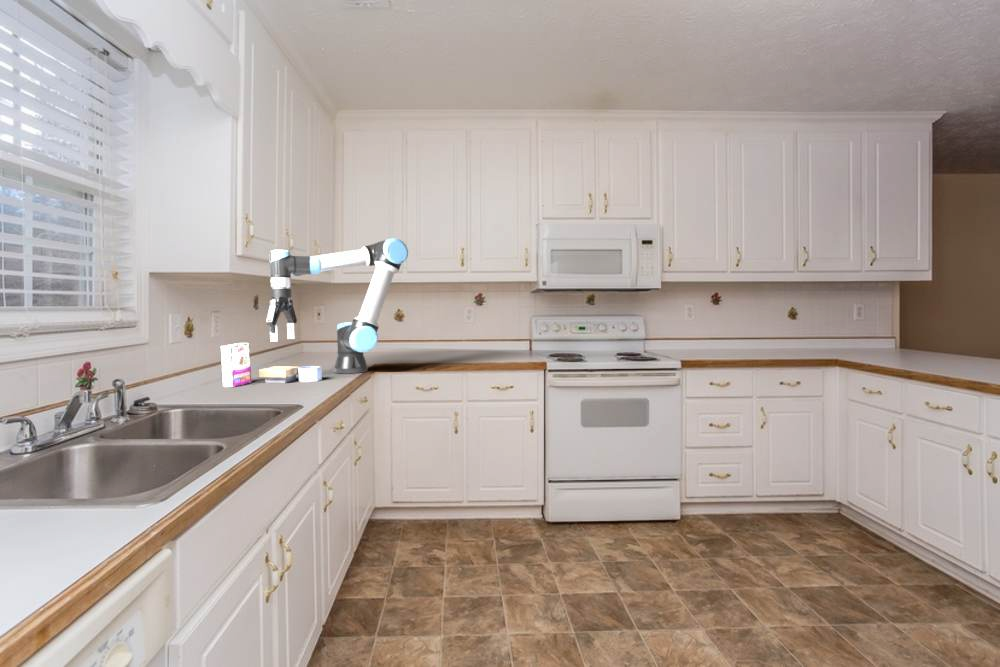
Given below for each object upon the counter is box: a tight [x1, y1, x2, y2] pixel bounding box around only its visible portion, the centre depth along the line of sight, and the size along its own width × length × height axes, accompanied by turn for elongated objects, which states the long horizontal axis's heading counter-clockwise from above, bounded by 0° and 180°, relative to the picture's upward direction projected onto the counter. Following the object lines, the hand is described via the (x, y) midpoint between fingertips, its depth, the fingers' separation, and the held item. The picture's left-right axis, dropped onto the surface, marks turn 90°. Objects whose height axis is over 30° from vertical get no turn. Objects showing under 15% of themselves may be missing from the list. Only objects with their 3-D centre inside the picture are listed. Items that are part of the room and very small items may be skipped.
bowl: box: [297, 365, 323, 383], centre depth 212 cm, size 9×9×6 cm
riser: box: [264, 375, 297, 384], centre depth 210 cm, size 8×9×2 cm
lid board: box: [258, 365, 300, 378], centre depth 210 cm, size 11×12×3 cm
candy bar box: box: [220, 342, 252, 388], centre depth 201 cm, size 11×5×16 cm, turn 171°
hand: (282, 340), depth 207 cm, fingers open, 13 cm apart
